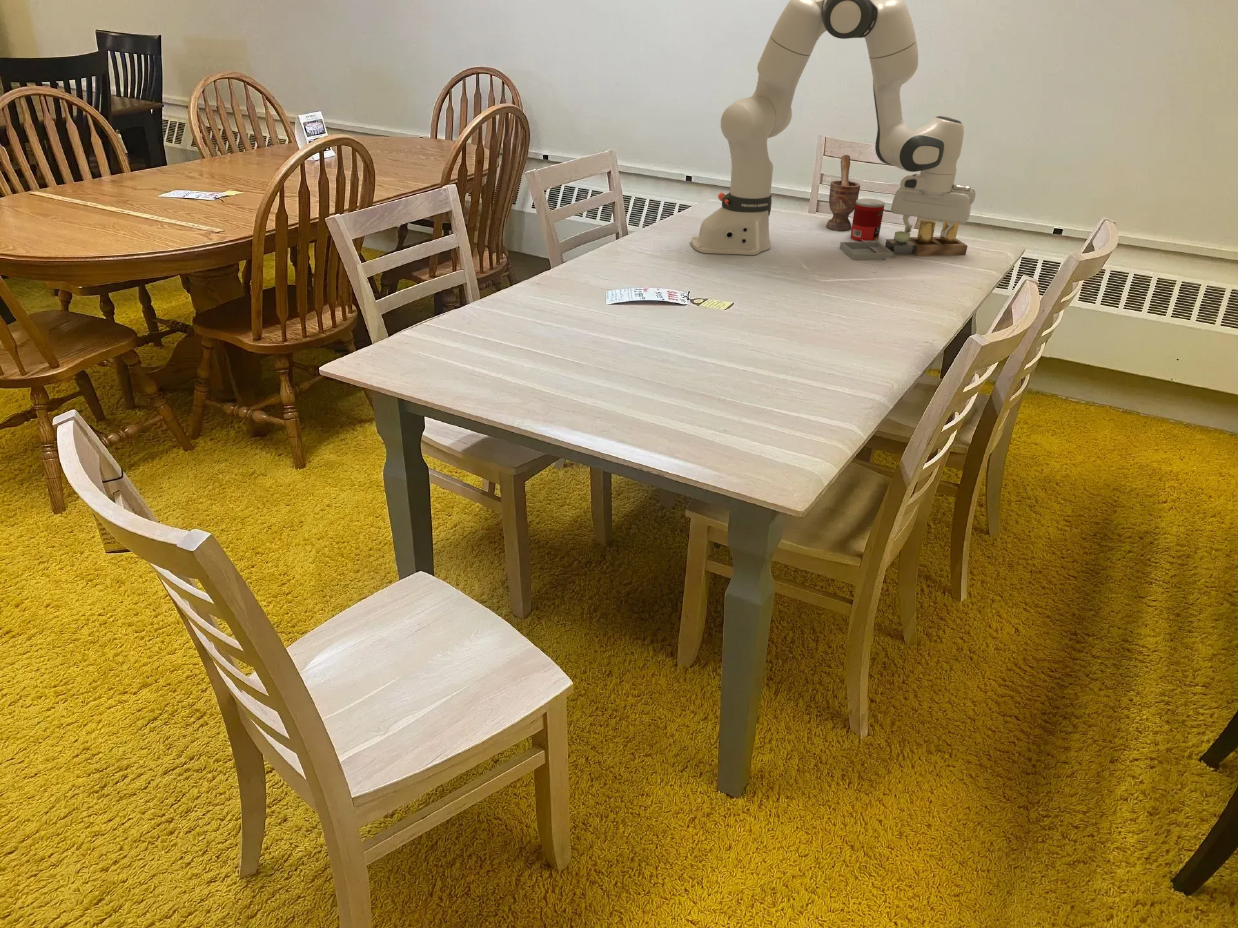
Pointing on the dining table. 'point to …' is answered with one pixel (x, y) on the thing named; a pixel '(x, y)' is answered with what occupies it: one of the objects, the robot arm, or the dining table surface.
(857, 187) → the mortar and pestle
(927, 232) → the billet
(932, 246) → the wooden compartment tray
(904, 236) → the button
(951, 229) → the billet seated
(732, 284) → the dining table surface
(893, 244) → the button housing
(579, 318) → the dining table surface
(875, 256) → the grey square tray
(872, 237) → the canned food
